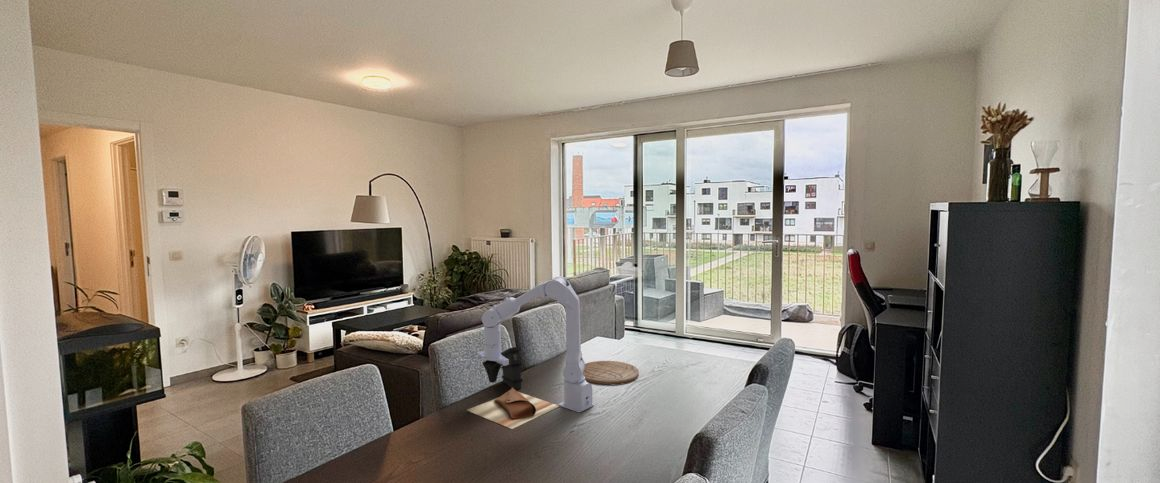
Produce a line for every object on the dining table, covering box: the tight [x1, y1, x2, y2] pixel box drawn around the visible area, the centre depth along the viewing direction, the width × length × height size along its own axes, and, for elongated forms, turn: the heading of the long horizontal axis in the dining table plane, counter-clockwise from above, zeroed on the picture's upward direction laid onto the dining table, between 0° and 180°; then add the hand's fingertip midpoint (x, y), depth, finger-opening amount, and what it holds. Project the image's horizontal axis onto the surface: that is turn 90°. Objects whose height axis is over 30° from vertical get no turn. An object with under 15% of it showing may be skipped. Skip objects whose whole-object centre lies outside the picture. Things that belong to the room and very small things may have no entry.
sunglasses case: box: [494, 388, 536, 419], centre depth 160 cm, size 18×7×7 cm
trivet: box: [582, 360, 640, 386], centre depth 194 cm, size 25×25×2 cm
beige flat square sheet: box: [466, 391, 561, 430], centre depth 160 cm, size 22×22×1 cm
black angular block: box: [500, 346, 523, 391], centre depth 182 cm, size 4×13×15 cm, turn 32°
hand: (492, 381), depth 166 cm, fingers closed
